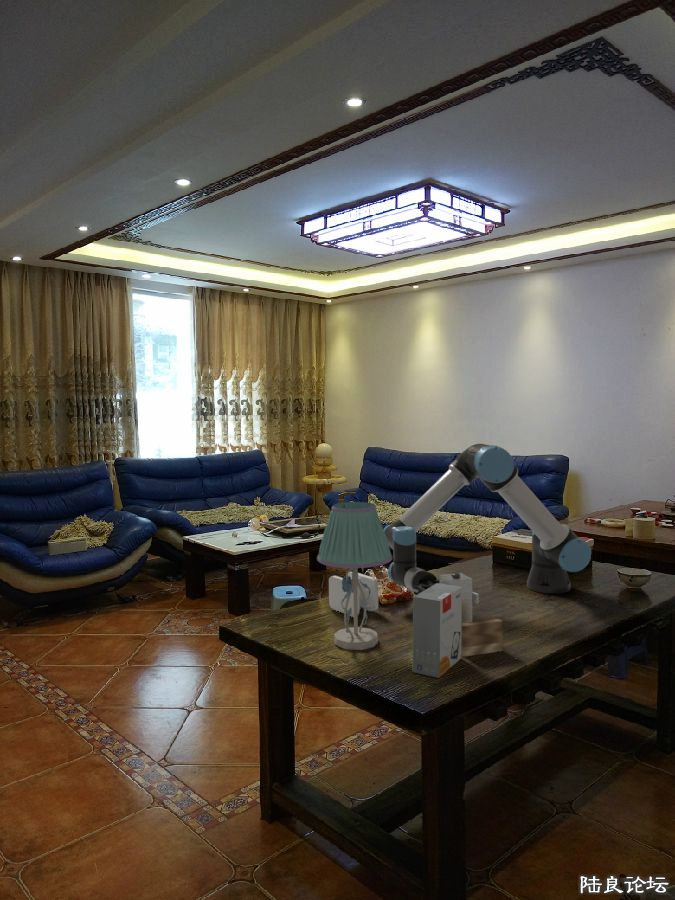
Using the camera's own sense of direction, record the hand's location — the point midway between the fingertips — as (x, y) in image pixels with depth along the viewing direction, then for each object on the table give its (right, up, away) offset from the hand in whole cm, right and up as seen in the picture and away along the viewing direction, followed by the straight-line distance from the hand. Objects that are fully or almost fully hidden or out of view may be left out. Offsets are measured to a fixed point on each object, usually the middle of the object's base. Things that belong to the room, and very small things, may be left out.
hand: (465, 601), depth 187 cm
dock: (+1, -12, +1) cm, 12 cm away
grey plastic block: (-31, -10, +31) cm, 45 cm away
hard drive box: (-10, -14, -15) cm, 23 cm away
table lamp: (-31, -13, +3) cm, 34 cm away
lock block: (-2, -8, +5) cm, 9 cm away
